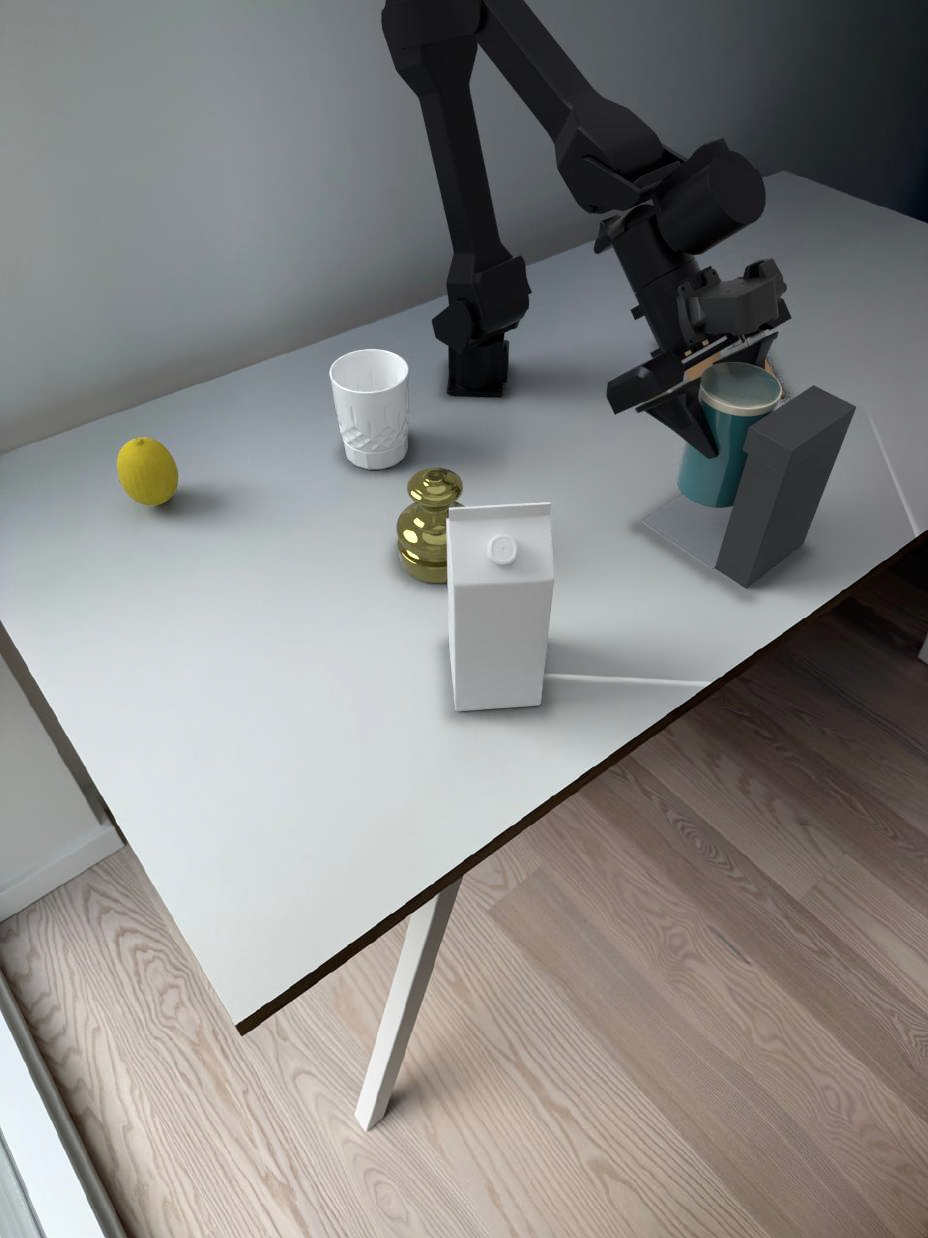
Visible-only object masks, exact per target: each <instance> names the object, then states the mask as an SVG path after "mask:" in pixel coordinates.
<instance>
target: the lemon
mask: <svg viewBox="0 0 928 1238" xmlns="http://www.w3.org/2000/svg"><path fill="white" fill-rule="evenodd" d="M116 469H117V477H118V480H119V482H120V484H121V487H122V488H123V490H124V492H125V493H126V494H127V495H128V497H130V498H131V499H132V500H133V501H134V502H137V503H138V504H141V505H145V506H150V507H151V506H153V507H154V506H160V505H162V504H164V503H167V501H169V500H170V499H171V498H172V497H173V496H174V495H175V493H176V491H177V489H178V485H179V471H178V467H177V463H176V461H175V458H174V457H173V455H172V453H171V452H170V451H169V449H168V448H167V447H166V446H165V445H164V444H163V443H161V442H160V441H158V440H157V439H155V438H151V437H145V436H143V437H141V436H140V437H135V438H132V439H131V440H129V441H127V442H126V443H125V444H124V445H123V446H122V447H121V449H120V450H119V452H118V455H117V459H116Z"/></svg>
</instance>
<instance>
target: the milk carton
mask: <svg viewBox="0 0 928 1238" xmlns="http://www.w3.org/2000/svg"><path fill="white" fill-rule="evenodd" d="M551 509H552V503H551V501H544V502H543V501H541V502H526V503H506V504H505V503H504V504H488V505H473V506H470V505H469V506H465V507H452V508H449V518H447V519H446V526H447V573H448V582H447V605H448V606H447V614H448V615H447V616H448V617H447V619H448V648H449V658H450V670H451V680H452V688H453V689H452V690H453V700H454V701H453V702H454V709H455V711H456V712H464V711H465V712H466V711H480V710H493V709H509V708H510V709H511V708H524V707H534V706H540V705H541V704H542V697H543V687H544V679H545V669H546V661H547V649H548V640H549V631H550V620H551V612H552V603H553V602H552V601H553V592H554V584H555V569H554V567H555V566H554V565H555V564H554V552H553V551H554V550H553V538H552V537H553V535H552V521H551V511H552V510H551Z"/></svg>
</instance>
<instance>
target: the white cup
mask: <svg viewBox="0 0 928 1238" xmlns="http://www.w3.org/2000/svg"><path fill="white" fill-rule="evenodd" d="M409 368H410V367H409V365H408V363H407V361H406V360H405V359H404V358H403V357H402V356H400V355H399V354H397V353H395V352H392V351H389V350H386V349H380V348H379V349H378V348H366V349H365V348H364V349H358V350H354V351H351V352H347V353H346V354H343V355H342V356H340V357H338V358H337V359H336V360H334V362H333V363H332V364H331V366H330V368H329V373H328V374H329V380H330V384H331V385H330V386H331V391H332V395H333V403H334V406H335V412H336V416H337V423H338V426H339V431H340V436H342V441H343V448H344V453H345V455H346V459H347V460H348V461H349V462H351V463H352V464H353V465H354V466H355V467H359V468H362V469H365V470H385V469H388V468H390V467H394V466H396V465H398V464H399V463H400V462H401V461H403V460H404V459H405V457H406V455H407V452H408V450H409V439H408V438H409V436H408V433H409V423H410V422H409V415H410V388H409V387H410V385H409V382H410V379H409V378H410V375H409V374H410V373H409V372H410V371H409V370H410V369H409Z"/></svg>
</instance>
